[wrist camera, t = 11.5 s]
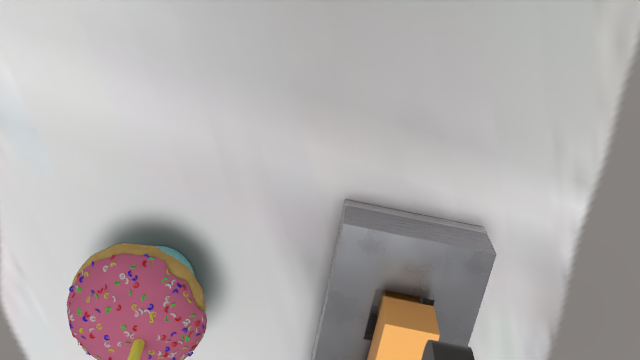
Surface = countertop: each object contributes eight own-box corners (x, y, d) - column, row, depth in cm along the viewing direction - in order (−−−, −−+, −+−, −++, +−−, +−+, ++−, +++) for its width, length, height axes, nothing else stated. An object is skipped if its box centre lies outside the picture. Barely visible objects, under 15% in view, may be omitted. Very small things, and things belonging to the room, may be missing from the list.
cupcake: (244, 264, 41) (198, 375, 30) (183, 351, 44) (120, 484, 32) (133, 196, 40) (42, 283, 29) (78, 289, 43) (-27, 403, 31)
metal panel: (345, 199, 39) (343, 223, 35) (483, 227, 39) (496, 254, 35) (297, 423, 45) (291, 464, 41) (417, 447, 45) (422, 491, 41)
